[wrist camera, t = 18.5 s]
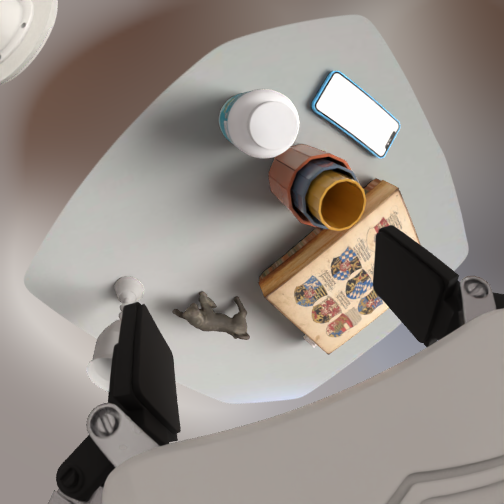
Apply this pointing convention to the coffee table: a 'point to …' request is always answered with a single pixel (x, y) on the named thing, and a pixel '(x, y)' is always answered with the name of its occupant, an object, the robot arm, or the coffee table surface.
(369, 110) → the smartphone
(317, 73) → the coffee table surface
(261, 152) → the pill bottle
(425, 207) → the coffee table surface
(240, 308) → the dog figurine
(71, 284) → the coffee table surface
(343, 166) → the cup stack
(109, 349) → the chalice
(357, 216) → the ochre cup
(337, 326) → the book
